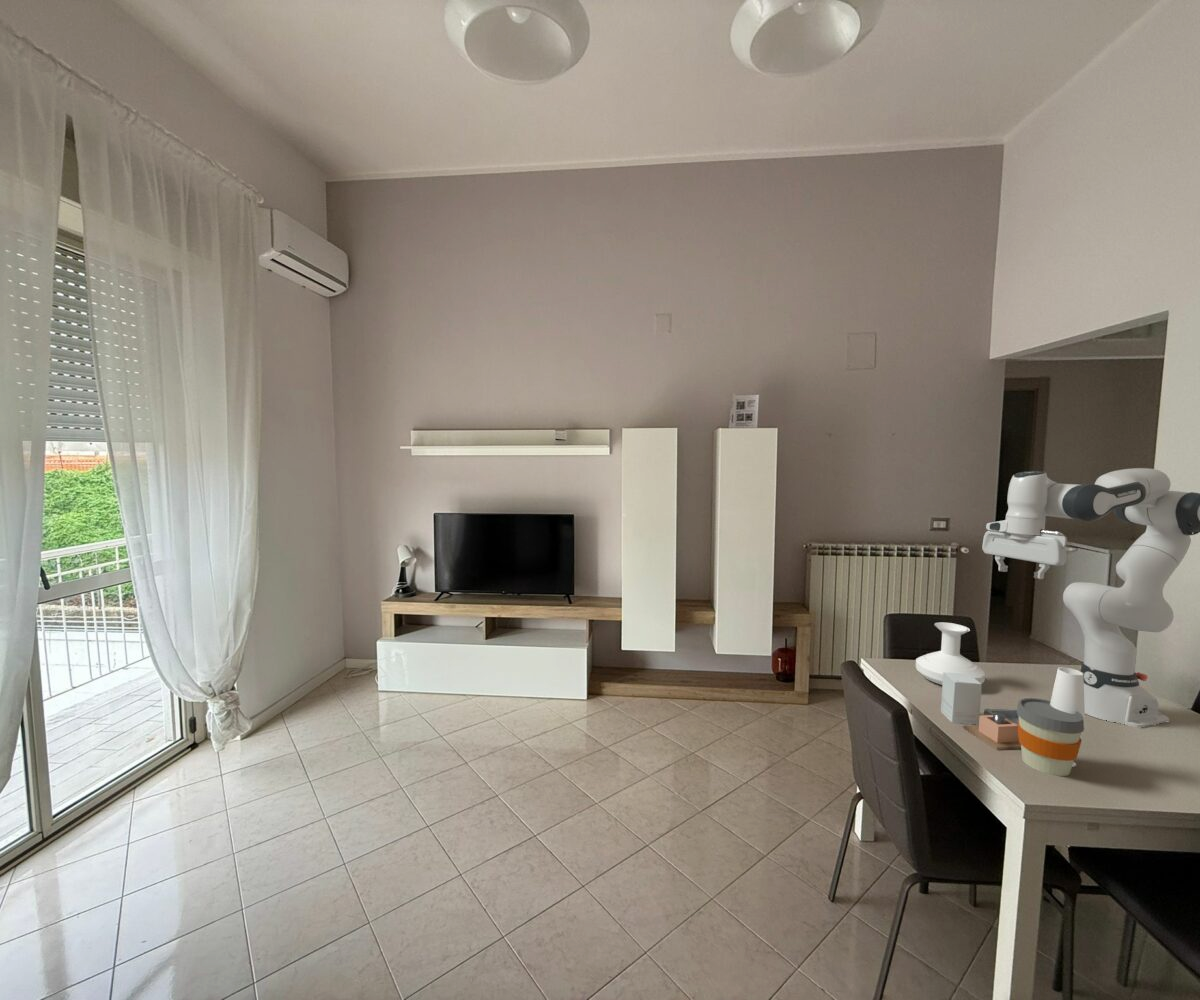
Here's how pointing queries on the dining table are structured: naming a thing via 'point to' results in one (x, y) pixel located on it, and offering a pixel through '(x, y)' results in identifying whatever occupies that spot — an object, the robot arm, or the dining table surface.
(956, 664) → the candle holder
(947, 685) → the supplement box
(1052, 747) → the reusable coffee cup
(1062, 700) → the champagne flute
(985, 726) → the collar
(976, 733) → the stake board
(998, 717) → the cylinder
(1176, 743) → the dining table surface
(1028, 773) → the dining table surface
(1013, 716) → the tray
